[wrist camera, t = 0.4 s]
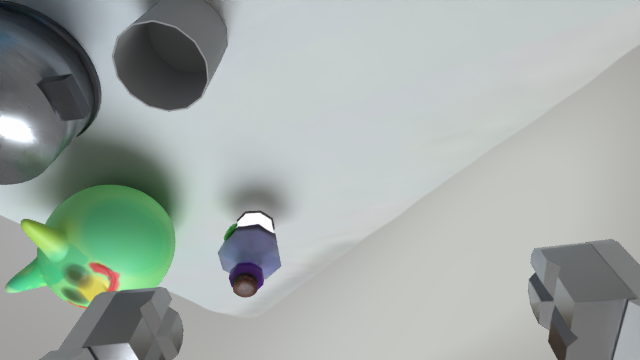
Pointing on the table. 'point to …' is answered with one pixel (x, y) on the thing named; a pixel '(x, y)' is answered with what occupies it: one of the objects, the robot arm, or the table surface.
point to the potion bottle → (250, 252)
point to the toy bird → (99, 245)
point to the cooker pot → (40, 92)
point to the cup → (171, 53)
